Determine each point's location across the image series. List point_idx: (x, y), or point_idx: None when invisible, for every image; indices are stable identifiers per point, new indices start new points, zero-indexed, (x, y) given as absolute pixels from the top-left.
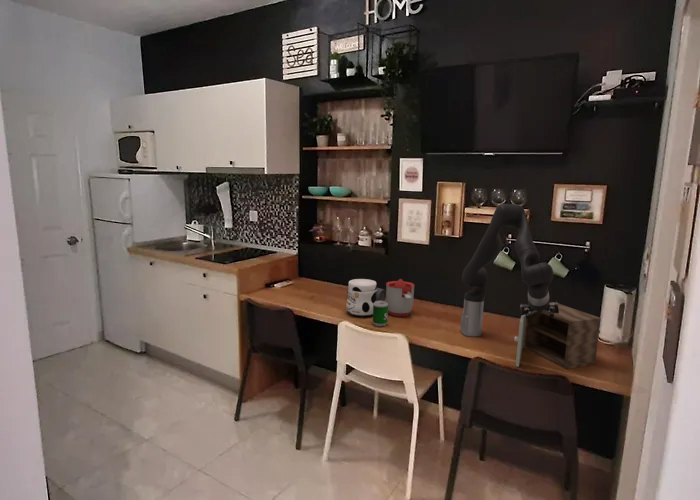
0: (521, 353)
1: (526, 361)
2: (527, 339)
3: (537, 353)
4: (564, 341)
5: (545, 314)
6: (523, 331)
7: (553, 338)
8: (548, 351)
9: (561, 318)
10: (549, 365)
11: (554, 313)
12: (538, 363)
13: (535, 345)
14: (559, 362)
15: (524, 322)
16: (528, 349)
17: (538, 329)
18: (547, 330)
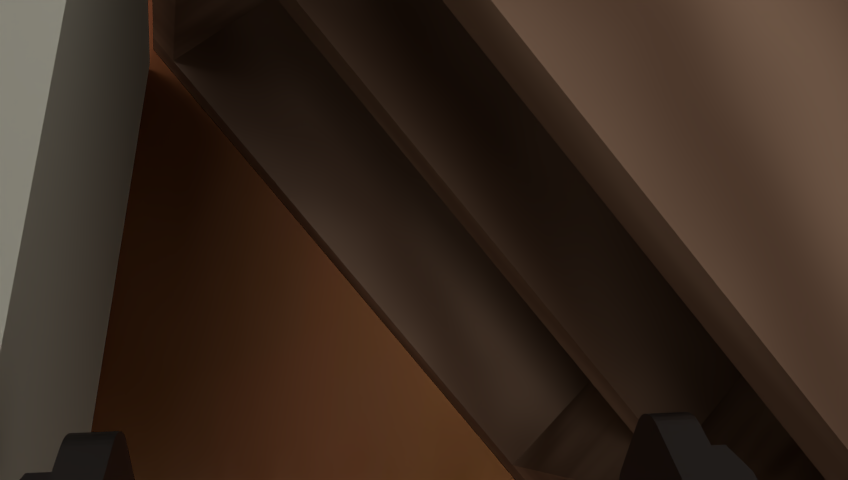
0: (107, 320)
1: (158, 453)
2: (193, 17)
3: (289, 206)
4: (622, 402)
5: (516, 85)
6: (73, 323)
7: (499, 268)
8: (398, 152)
9: (814, 414)
10: (383, 456)
11: (701, 116)
12: (282, 452)
13: (283, 21)
14: (478, 410)
15: (65, 242)
16: (205, 108)
17: (333, 41)
18: (448, 49)
